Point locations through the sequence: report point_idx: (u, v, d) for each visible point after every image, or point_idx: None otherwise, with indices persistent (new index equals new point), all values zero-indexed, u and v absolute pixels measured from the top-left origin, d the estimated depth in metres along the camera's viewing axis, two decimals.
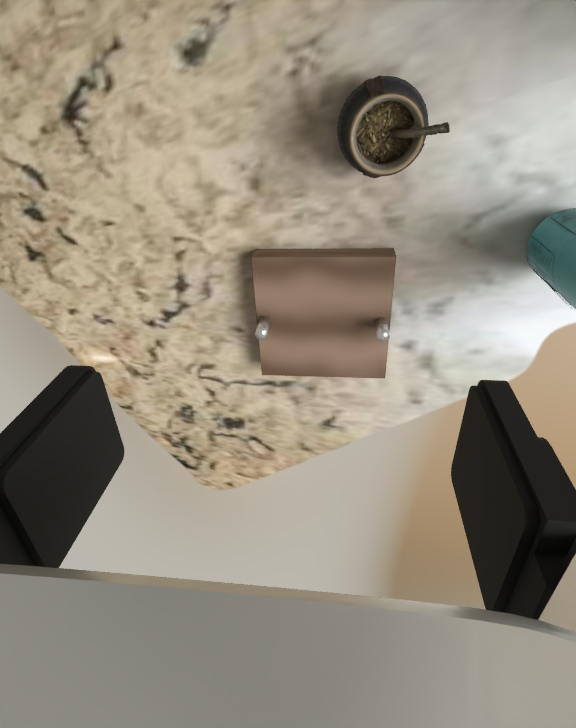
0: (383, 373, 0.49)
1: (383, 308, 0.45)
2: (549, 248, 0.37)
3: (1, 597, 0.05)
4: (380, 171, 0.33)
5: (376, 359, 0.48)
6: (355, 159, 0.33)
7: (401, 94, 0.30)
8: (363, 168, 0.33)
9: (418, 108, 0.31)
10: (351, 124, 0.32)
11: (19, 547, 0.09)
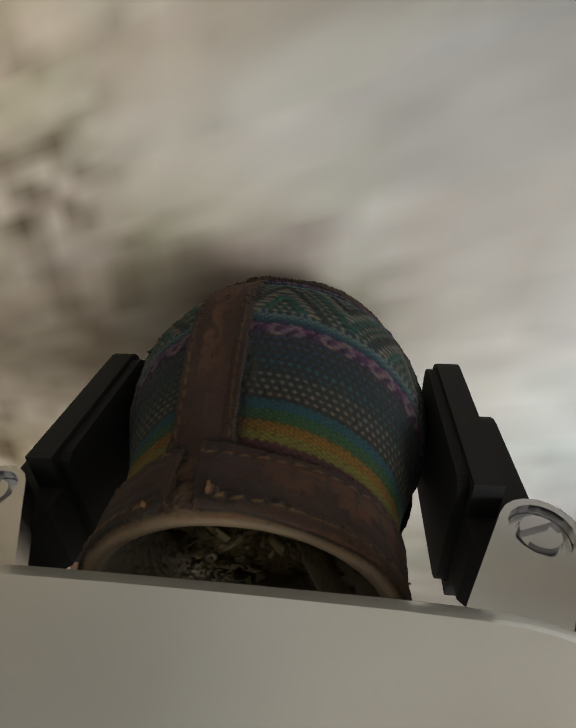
0: None
1: None
2: None
3: (1, 597, 0.05)
4: None
5: None
6: None
7: (285, 521, 0.06)
8: None
9: (376, 571, 0.06)
10: None
11: (79, 523, 0.09)
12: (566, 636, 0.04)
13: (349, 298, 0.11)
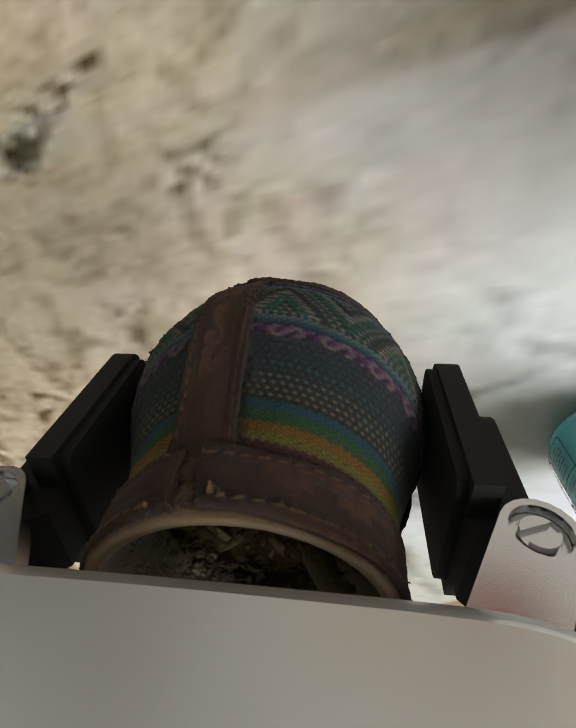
0: None
1: None
2: None
3: (1, 597, 0.05)
4: None
5: None
6: None
7: (286, 521, 0.06)
8: None
9: (376, 570, 0.06)
10: None
11: (79, 524, 0.09)
12: (566, 636, 0.04)
13: (349, 299, 0.11)
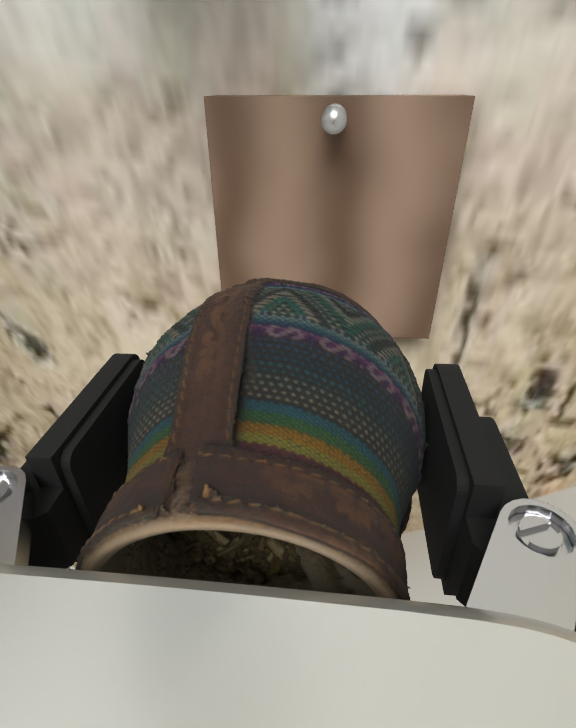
0: (461, 100, 0.22)
1: (304, 113, 0.23)
2: None
3: (1, 597, 0.05)
4: None
5: (423, 120, 0.23)
6: None
7: (283, 525, 0.06)
8: None
9: (375, 575, 0.06)
10: None
11: (79, 524, 0.09)
12: (565, 635, 0.04)
13: (348, 300, 0.11)
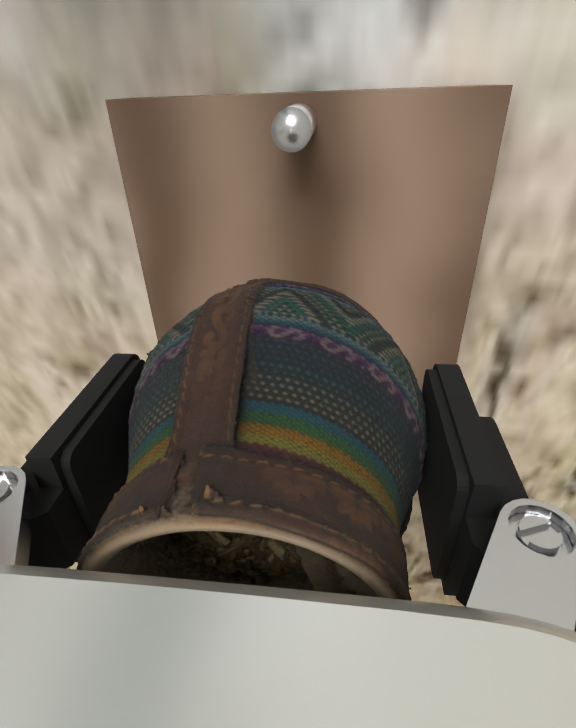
0: (491, 93, 0.15)
1: (254, 120, 0.16)
2: None
3: (1, 597, 0.05)
4: None
5: (432, 124, 0.15)
6: None
7: (285, 527, 0.06)
8: None
9: (376, 577, 0.06)
10: None
11: (78, 524, 0.09)
12: (566, 636, 0.04)
13: (349, 300, 0.11)
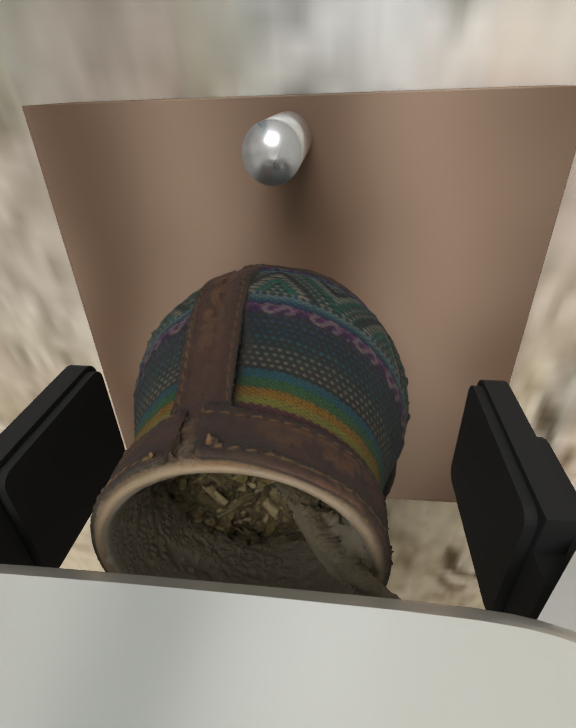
0: (561, 97, 0.10)
1: (226, 134, 0.11)
2: None
3: (1, 597, 0.05)
4: None
5: (474, 141, 0.11)
6: None
7: (276, 468, 0.07)
8: None
9: (357, 514, 0.07)
10: (92, 527, 0.08)
11: (19, 546, 0.09)
12: (565, 635, 0.04)
13: (338, 284, 0.12)
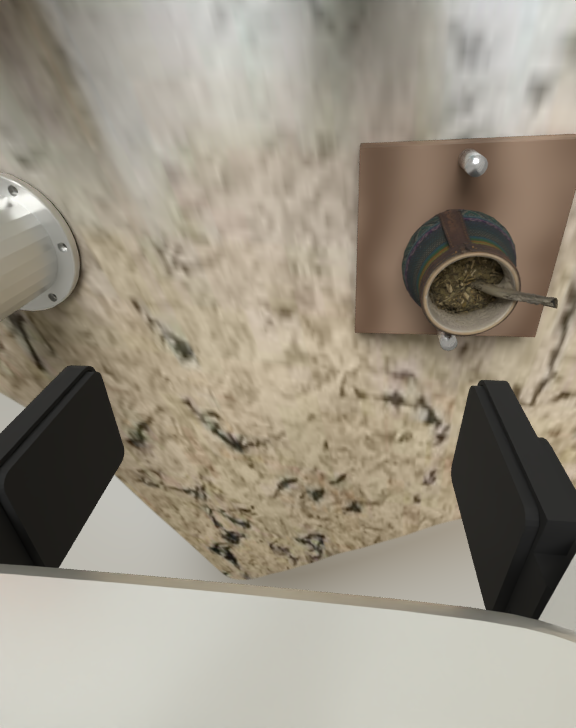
0: None
1: (442, 157, 0.29)
2: None
3: (1, 597, 0.05)
4: (458, 331, 0.27)
5: (543, 158, 0.28)
6: (428, 318, 0.27)
7: (493, 253, 0.24)
8: (437, 327, 0.27)
9: (514, 269, 0.24)
10: (426, 282, 0.26)
11: (19, 547, 0.09)
12: (566, 636, 0.04)
13: None
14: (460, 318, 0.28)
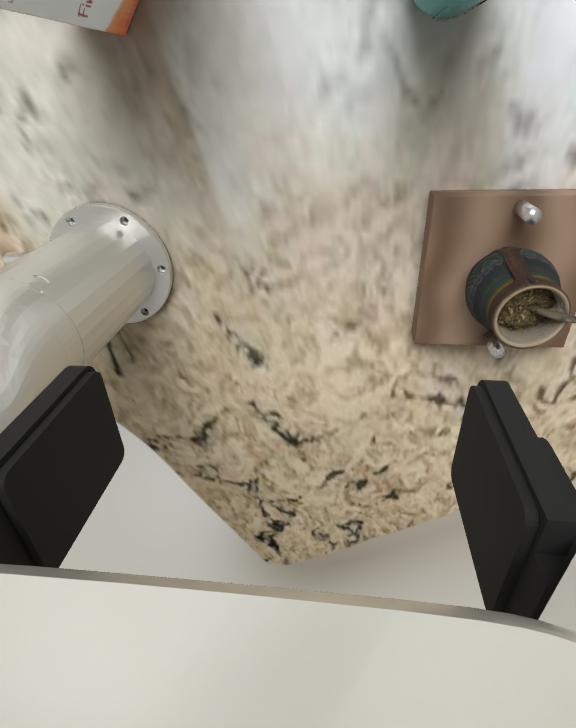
0: None
1: (500, 206, 0.36)
2: (441, 6, 0.28)
3: (1, 597, 0.05)
4: (519, 345, 0.34)
5: None
6: (496, 334, 0.34)
7: (552, 286, 0.32)
8: (502, 342, 0.34)
9: (566, 298, 0.32)
10: (498, 307, 0.33)
11: (19, 548, 0.09)
12: (566, 636, 0.04)
13: None
14: (517, 334, 0.35)
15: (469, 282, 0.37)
